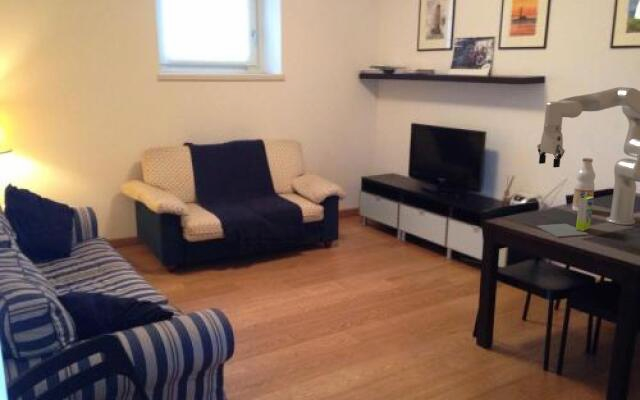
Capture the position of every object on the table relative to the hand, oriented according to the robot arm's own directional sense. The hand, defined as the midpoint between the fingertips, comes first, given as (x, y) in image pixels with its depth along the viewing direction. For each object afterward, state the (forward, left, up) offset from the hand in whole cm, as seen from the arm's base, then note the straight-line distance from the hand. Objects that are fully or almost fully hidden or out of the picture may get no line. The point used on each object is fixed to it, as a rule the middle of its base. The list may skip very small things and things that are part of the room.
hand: (549, 165), depth 257 cm
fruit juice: (-38, -24, -31) cm, 54 cm away
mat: (-6, +7, -31) cm, 32 cm away
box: (-16, +8, -30) cm, 35 cm away
